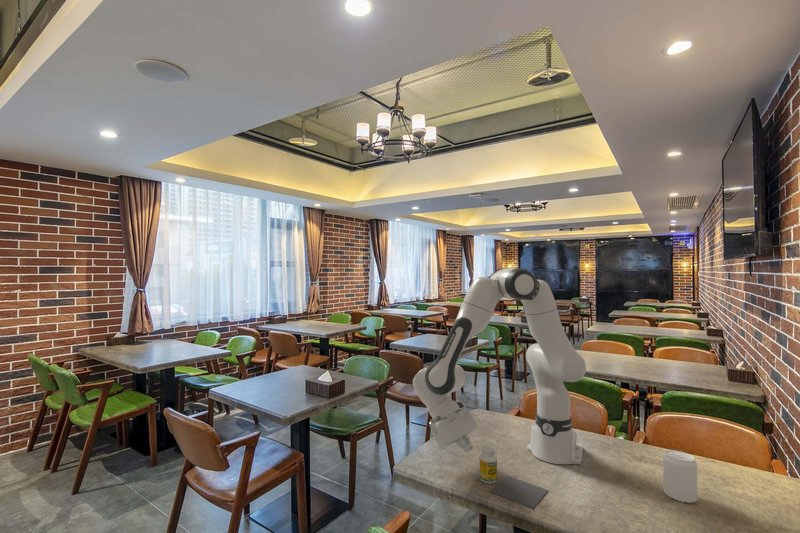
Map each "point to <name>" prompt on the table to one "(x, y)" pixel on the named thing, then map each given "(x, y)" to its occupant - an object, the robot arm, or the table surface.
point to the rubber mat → (519, 491)
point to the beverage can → (680, 476)
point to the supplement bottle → (488, 465)
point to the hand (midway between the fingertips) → (469, 450)
